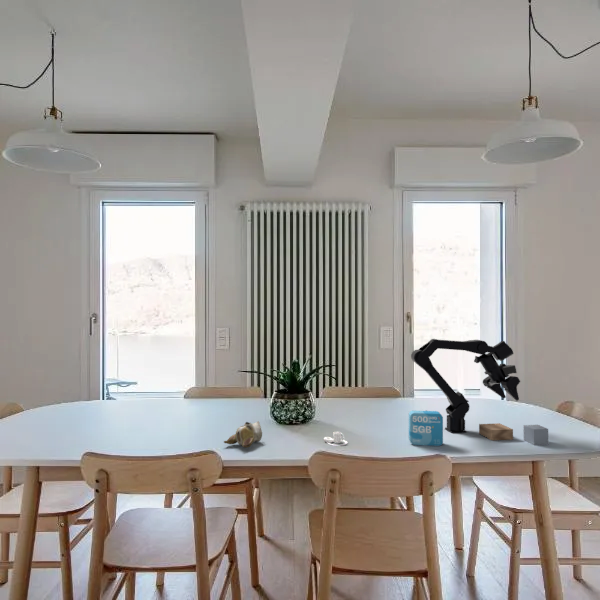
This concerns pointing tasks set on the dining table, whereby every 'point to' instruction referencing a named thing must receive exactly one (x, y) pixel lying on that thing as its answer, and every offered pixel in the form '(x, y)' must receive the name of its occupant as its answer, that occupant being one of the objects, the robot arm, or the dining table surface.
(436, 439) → the data package
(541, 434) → the slate cube
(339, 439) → the teacup and saucer
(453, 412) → the robot arm
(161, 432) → the dining table surface
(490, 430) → the walnut block
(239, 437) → the ceramic sculpture
